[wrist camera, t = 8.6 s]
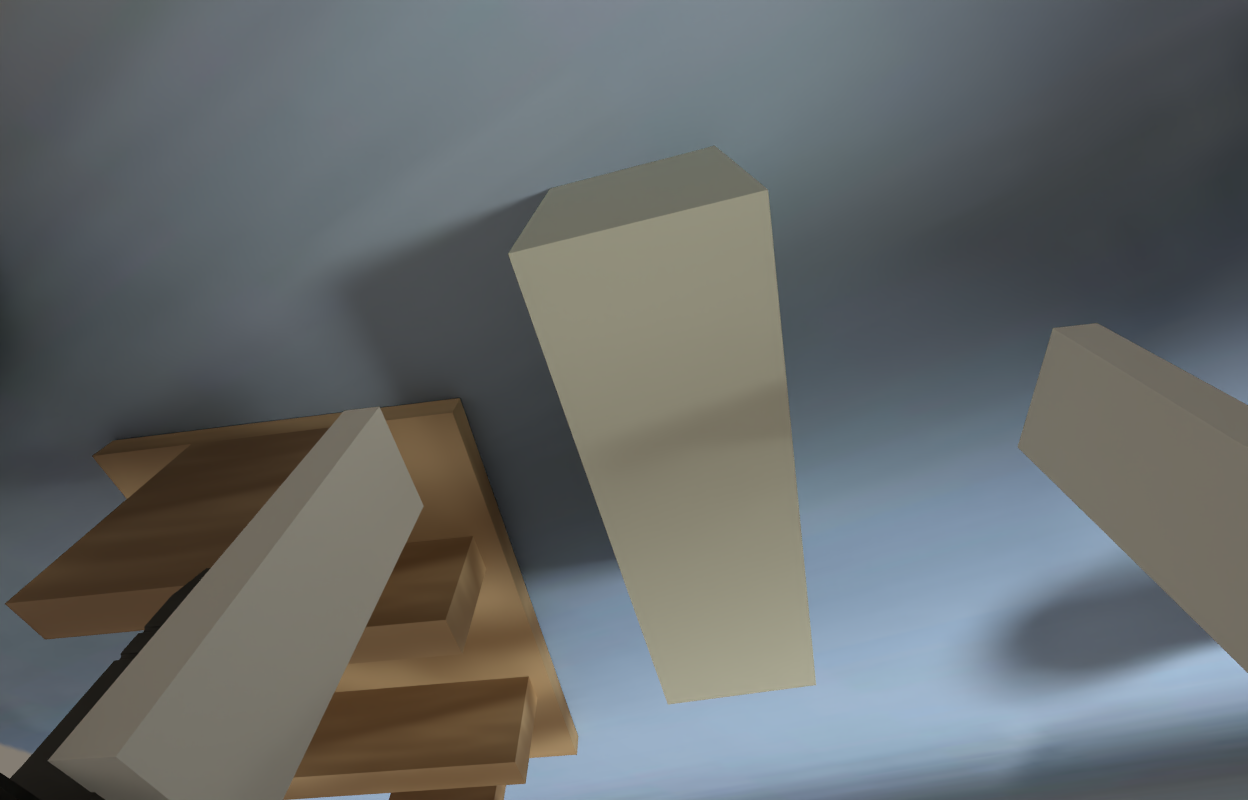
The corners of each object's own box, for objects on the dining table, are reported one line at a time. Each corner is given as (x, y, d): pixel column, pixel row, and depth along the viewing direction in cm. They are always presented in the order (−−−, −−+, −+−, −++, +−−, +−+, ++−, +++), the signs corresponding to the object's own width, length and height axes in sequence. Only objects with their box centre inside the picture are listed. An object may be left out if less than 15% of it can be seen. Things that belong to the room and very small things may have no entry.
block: (550, 187, 16) (508, 253, 10) (713, 144, 16) (768, 189, 10) (657, 550, 24) (668, 704, 18) (768, 531, 24) (815, 684, 18)
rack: (113, 440, 21) (-133, 617, 14) (460, 398, 20) (374, 566, 13) (356, 752, 33) (287, 927, 27) (578, 736, 32) (565, 914, 26)
